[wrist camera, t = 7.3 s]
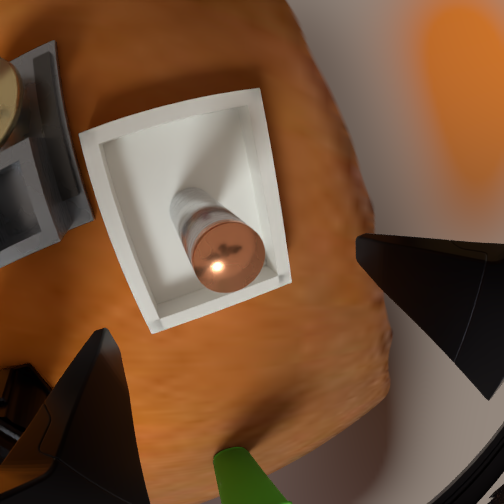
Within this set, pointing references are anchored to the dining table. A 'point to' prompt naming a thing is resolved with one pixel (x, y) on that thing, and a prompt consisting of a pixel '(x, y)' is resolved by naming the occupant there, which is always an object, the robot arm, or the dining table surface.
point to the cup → (244, 479)
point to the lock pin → (216, 241)
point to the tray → (176, 179)
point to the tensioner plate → (36, 157)
